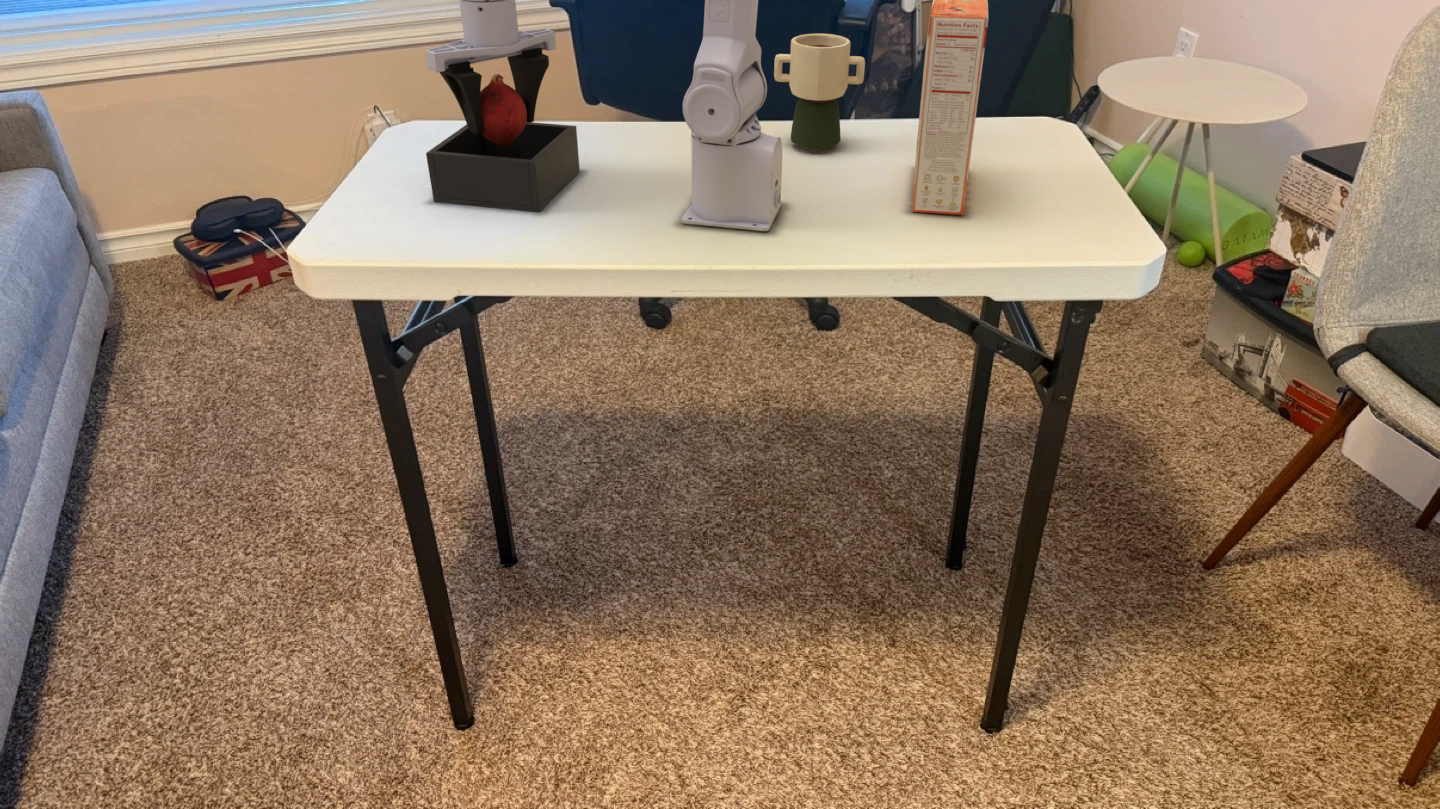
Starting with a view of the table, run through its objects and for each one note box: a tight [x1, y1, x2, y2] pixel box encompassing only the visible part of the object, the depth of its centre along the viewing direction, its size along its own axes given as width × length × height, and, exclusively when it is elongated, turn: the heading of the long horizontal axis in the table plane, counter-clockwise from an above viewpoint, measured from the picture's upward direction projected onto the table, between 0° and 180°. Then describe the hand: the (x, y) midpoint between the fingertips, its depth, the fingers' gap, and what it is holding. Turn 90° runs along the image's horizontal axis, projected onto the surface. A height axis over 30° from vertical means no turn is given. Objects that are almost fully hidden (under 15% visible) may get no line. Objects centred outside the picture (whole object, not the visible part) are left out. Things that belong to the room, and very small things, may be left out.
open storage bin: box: [425, 122, 581, 213], centre depth 115 cm, size 13×13×6 cm
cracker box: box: [911, 0, 989, 216], centre depth 110 cm, size 14×6×21 cm, turn 168°
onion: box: [480, 73, 527, 147], centre depth 112 cm, size 6×6×8 cm
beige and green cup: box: [773, 33, 866, 151], centre depth 125 cm, size 11×7×13 cm, turn 83°
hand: (502, 125), depth 113 cm, fingers closed on onion, 6 cm apart
